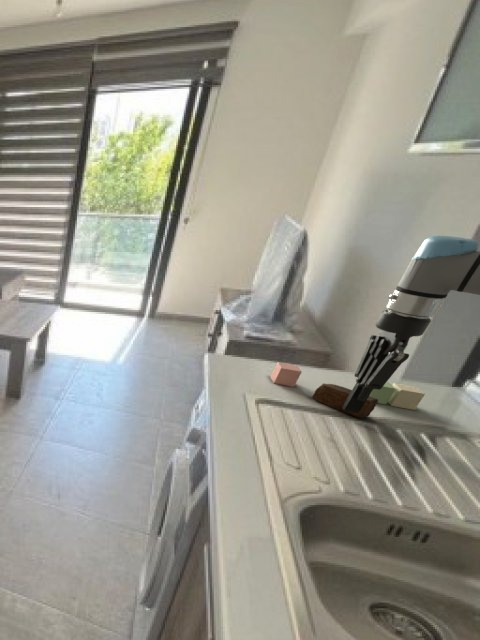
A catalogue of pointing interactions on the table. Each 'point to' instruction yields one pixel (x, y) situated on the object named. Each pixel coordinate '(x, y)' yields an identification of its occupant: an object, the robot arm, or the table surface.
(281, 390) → the table surface
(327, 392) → the brick
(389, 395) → the cube sage
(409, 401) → the cube cream
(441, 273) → the robot arm
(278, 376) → the cube rose
